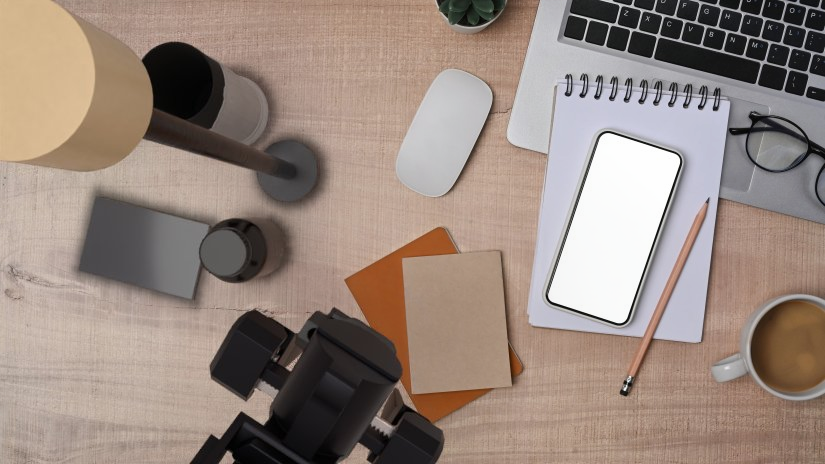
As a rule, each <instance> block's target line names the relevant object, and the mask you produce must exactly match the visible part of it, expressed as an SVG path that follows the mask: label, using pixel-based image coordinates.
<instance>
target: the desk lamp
mask: <svg viewBox="0 0 825 464" xmlns="http://www.w3.org/2000/svg"><path fill="white" fill-rule="evenodd" d="M141 60H142V59H141V58H140V56H139V55H138V54H137V53H136V52H135V51H134V50H133V48H131V47H130V46H129V45H128V44H127V43H125V42H124V41H123V40H121V39H120V38H118V37H116V36H115V35H113V34H111V33H109V31H106V30H104V29H102V28H101V27H99V26H97V25H96V24H94V23H92V22H90V21H88V20H87V19H85V18H83V17H82V16H80V15H78V14H76V13H75V12H73V11H71V10H69V9H67V8H66V7H64V6H62V5H61V4H59V3H57V2H55V1H54V0H0V161H1V162H7V163H8V162H9V163H14V164H20V165H21V164H22V165H28V166H35V167H41V168H50V169H55V170H63V171H70V172H76V173H91V172H97V171H101V170H105V169H107V168H110V167H112V166H114V165H117V164H118V163H120V162H121V161H123V160H124V159H125V158H126V157H128V156H130V154H132V152H133V151H134V150H135V149H136V148H137V147H138V146H139V144H140V143H141V142H142V140H145V141H148V142H153V143H156V144H159V145H161V146H166V147H170V148H172V149H177V150H180V151H184V152H187V153H191V154H193V155H194V154H195V155H198V156H201V157H204V158H207V159H212V160H215V161H218V162H222V163H225V164H229V165H232V166H237V167H238V168H239V167H240V168H243V169H246V170H250V171H254V172H256V177H257V182H258V184H259V186H260V187H261V189H262V190H263V192H265V194H266V195H267V196H269V197H270V198H272V199H274V200H276V201H279V202H281V203H283V202H284V203H297V202H301V201H303V200H305V199H307V198H308V197H309V196H311V195H312V194H313V193H314V192H315V190H316V189H317V187H318V185H319V182H320V179H321V166H320V162H319V159H318V158H317V156H316V154H315V153H314V151H313V150H312V149H310V148H309V147H308V146H306V145H304V144H303V143H302V142H299V141H295V140H290V139H286V140H285V139H284V140H279V141H277V142H274V143H272V144H271V145H269V146H268V147H266V148H265V149H264V151H263V150H260V149H257V148H255V147H253V146H251V145H249V146H248V145H245V144H243V143H240V142H238V141H235V140H233V139H230V138H228V137H225V136H223V135H221V134H218V133H216V132H213V131H211V130H208V129H206V128H203V127H201V126H198V125H196V124H193V123H191V122H189V121H186V120H184V119H181V118H179V117H176V116H174V115H171V114H169V113H166V112H164V111H161V110H159V109H157V108H154V107H153V93H152V86H151V82H150V78H149V75H148V73H147V70H146V68H145V66H144V65H143V63H142V61H141Z"/></svg>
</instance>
